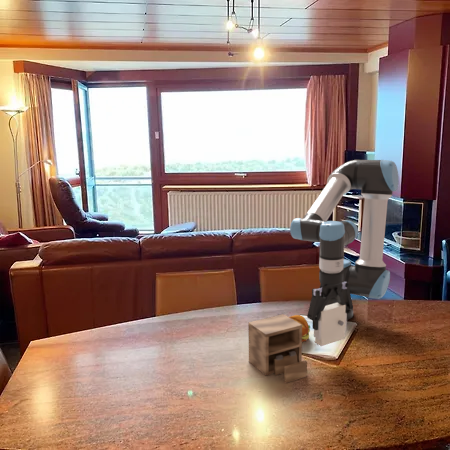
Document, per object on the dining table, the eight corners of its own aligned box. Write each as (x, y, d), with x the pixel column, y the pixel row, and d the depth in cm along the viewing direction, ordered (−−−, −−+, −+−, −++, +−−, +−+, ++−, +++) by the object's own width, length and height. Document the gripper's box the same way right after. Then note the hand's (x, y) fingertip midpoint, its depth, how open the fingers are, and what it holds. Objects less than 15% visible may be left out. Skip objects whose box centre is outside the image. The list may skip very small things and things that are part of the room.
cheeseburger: (308, 331, 171) (310, 310, 167) (311, 350, 161) (312, 328, 157) (282, 330, 172) (283, 309, 168) (282, 349, 162) (283, 327, 158)
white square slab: (315, 342, 146) (315, 308, 144) (338, 335, 151) (339, 301, 148) (323, 347, 143) (324, 313, 140) (347, 340, 147) (348, 306, 144)
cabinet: (248, 361, 149) (248, 322, 147) (283, 351, 156) (283, 313, 153) (277, 385, 134) (278, 342, 132) (314, 373, 141) (315, 332, 138)
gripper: (310, 279, 133) (310, 347, 138) (366, 266, 144) (364, 330, 148) (295, 273, 140) (295, 337, 145) (349, 261, 150) (348, 321, 155)
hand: (330, 334), depth 147 cm, fingers closed on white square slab, 10 cm apart
